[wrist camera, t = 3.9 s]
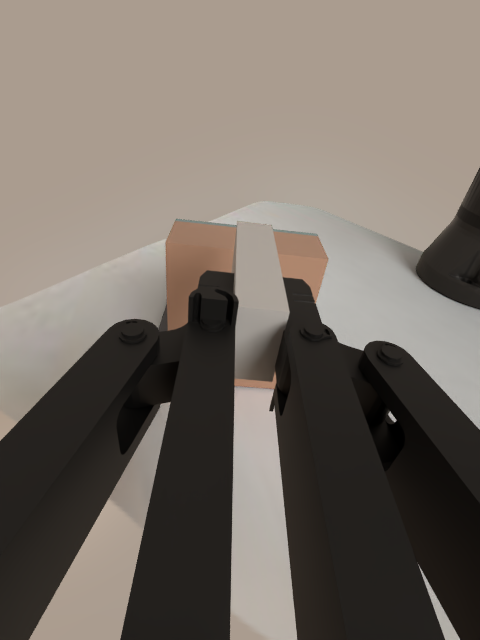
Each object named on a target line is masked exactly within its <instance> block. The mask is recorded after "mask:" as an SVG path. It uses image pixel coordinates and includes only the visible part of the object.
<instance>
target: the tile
mask: <svg viewBox="0 0 480 640" xmlns="http://www.w3.org/2000/svg"><path fill="white" fill-rule="evenodd" d="M236 228H237V225H229V224H219V223H210V222H201V221H192V220H182V219H176V220H175V222H174V225H173V227H172V229H171V231H170V233H169V236H168V238H167V240H166V281H167V322H168V331H169V330H174V329H177V328H180V327H182V326H184V325H185V324H187V323H188V301H189V295H190V294H191V292H192V291H194V290H196V289H197V288H198V284H199V279H200V276H201V275H202V274H203V273H204V272H206V271H207V270H210V271H219V272H229V273H231V271H232V263H233V254H234V245H235V236H236ZM273 233H274V238H275V243H276V248H277V253H278V257H279V262H280V267H281V272H282V277H286V278H295V279H303V280H304V281H305V282H306V283H307V284H308V285H309V286H310V288H311V291H312V294H313V297H314V300H315V303H316V300H317V297H318V293H319V290H320V286H321V283H322V279H323V276H324V273H325V269H326V266H327V262H328V257H327V255H326V253H325V251H324V248H323V246H322V244H321V242H320V240H319V238H318V235H317V234H313V233H303V232H294V231H285V230H275V229H273ZM275 385H276V373H274V377H273V381H272V382H268V381H256V380H244V379H235V381H234V386H244V387H256V388H269V389H275Z"/></svg>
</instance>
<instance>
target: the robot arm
mask: <svg viewBox="0 0 480 640" xmlns="http://www.w3.org/2000/svg"><path fill="white" fill-rule="evenodd" d="M416 271H417V273H418V275H419V276H420V278H421V279H422V280H423V281H424V282H426V283H427V284H428V285H429V286H431V287H432V288H434V289H435V290H437V291H438V292H440V293H442V294H444V295H446V296H448V297H450V298H452V299H454V300H456V301H459V302H461V303H464V304H466V305H469V306H472V307H476V308H479V309H480V168H479V170H478V172H477V174H476V176H475V178H474V180H473V182H472V184H471V186H470V188H469V190H468V192H467V194H466V196H465V198H464V200H463V202H462V204H461V206H460V208H459V210H458V212H457V214H456V216H455V218H454V219H453V221H452V222H451V223H450V224H449V225H448V226H447V227H446V229H445V230H444V231H443V232H442V233H441V234H440V235H439V236H438V237H437V238H436V239H435V240H434V242H433V243H432V244H431V245H430V246H429V247H428V248H427V249H426V250H425V251H424V252H423V254H422V256H421V258H420V260H419V262H418V264H417V266H416ZM274 373H276V385H275V389H274V393H273V397H272V401H271V405H270V410H269V411H273V409H274V405H275V415H276V425H277V435H278V445H279V456H280V466H281V476H282V486H283V497H284V507H285V517H286V527H287V538H288V548H289V558H290V568H291V578H292V589H293V599H294V609H295V619H296V630H297V640H445V638H444V635H443V633H442V630H441V627H440V624H439V621H438V619H437V616H436V613H435V610H434V607H433V605H432V602H431V599H430V596H429V594H428V591H427V588H426V585H425V582H424V580H423V577H422V574H421V571H420V569H419V566H420V568H421V569H422V571H423V573H424V575H425V577H426V578H427V580H428V582H429V584H430V586H431V587H432V589H433V591H434V593H435V595H436V596H437V598H438V600H439V602H440V604H441V605H442V607H443V609H444V611H445V613H446V615H447V616H448V618H449V620H450V622H451V624H452V625H453V627H454V629H455V631H456V633H457V634H458V636H459V638H460V640H480V430H479V429H478V428H477V427H476V426H475V424H474V423H473V422H472V421H471V420H470V419H469V418H468V417H467V416H466V415H465V414H464V413H463V411H462V410H461V409H460V408H459V407H458V406H457V405H456V404H455V403H454V402H453V401H452V400H451V398H450V397H449V396H448V395H447V394H446V393H445V392H444V391H443V390H442V389H441V388H440V387H439V385H438V384H437V383H436V382H435V381H434V380H433V379H432V378H431V377H430V376H429V375H428V374H427V372H426V371H425V370H424V369H423V368H422V367H421V366H420V365H419V364H418V363H417V362H416V360H415V359H414V358H413V357H412V356H411V355H410V354H409V353H408V352H406V351H405V350H404V349H403V348H401V347H399V346H397V345H395V344H392V343H389V342H385V341H373V342H369V343H368V344H367V345H366V346H365V348H364V351H362V350H359V349H355V348H352V347H349V346H346V345H343V344H341V343H339V342H338V341H337V338H336V335H335V334H334V332H333V331H332V330H331V329H330V328H329V327H327V326H326V325H324V324H322V322H321V319H320V316H319V313H318V310H317V307H316V303H315V300H314V297H313V294H312V291H311V288H310V286H309V285H308V284H307V283H306V282H305V281H304V280H303V279H295V278H286V277H282V272H281V267H280V262H279V257H278V253H277V248H276V243H275V238H274V233H273V228H272V225H266V224H258V223H249V222H240V221H237V228H236V236H235V245H234V254H233V263H232V271H231V273H229V272H219V271H210V270H207V271H206V272H204V273H203V274H202V275H201V276H200V279H199V284H198V288H197V289H196V290H194V291H192V292H191V294H190V295H189V301H188V323H187V324H185V325H184V326H182V327H180V328H177V329H174V330H169V331H161V332H159V331H158V328H157V327H156V326H155V325H154V324H153V323H151V322H148V321H146V320H140V319H130V320H124V321H121V322H118V323H116V324H114V325H113V326H112V327H110V328H109V329H108V330H107V331H106V332H105V333H104V334H103V335H102V336H101V337H100V338H99V339H98V340H97V341H96V342H95V343H94V344H93V346H92V347H91V348H90V349H89V350H88V351H87V352H86V353H85V354H84V355H83V356H82V357H81V358H80V359H79V360H78V361H77V362H76V363H75V364H74V365H73V366H72V367H71V368H70V369H69V370H68V371H67V372H66V373H65V375H64V376H63V377H62V378H61V379H60V380H59V381H58V382H57V383H56V384H55V385H54V386H53V387H52V388H51V389H50V390H49V391H48V392H47V393H46V394H45V395H44V396H43V397H42V398H41V399H40V400H39V401H38V402H37V404H36V405H35V406H34V407H33V408H32V409H31V410H30V411H29V412H28V413H27V414H26V415H25V416H24V417H23V418H22V419H21V420H20V421H19V422H18V423H17V424H16V425H15V426H14V428H13V429H11V431H10V432H9V433H8V434H7V435H6V436H5V437H4V438H3V439H2V440H1V441H0V640H29V638H30V636H31V635H32V633H33V631H34V629H35V628H36V626H37V624H38V622H39V620H40V619H41V617H42V615H43V613H44V612H45V610H46V608H47V606H48V605H49V603H50V601H51V599H52V597H53V596H54V594H55V592H56V590H57V588H58V587H59V585H60V583H61V581H62V580H63V578H64V576H65V574H66V573H67V571H68V569H69V567H70V566H71V564H72V562H73V560H74V559H75V556H76V555H77V553H78V551H79V550H80V548H81V546H82V544H83V543H84V541H85V539H86V537H87V536H88V534H89V532H90V530H91V528H92V527H93V525H94V523H95V521H96V520H97V518H98V516H99V514H100V512H101V511H102V509H103V507H104V505H105V504H106V502H107V500H108V498H109V497H110V495H111V493H112V491H113V490H114V488H115V486H116V484H117V482H118V481H119V479H120V477H121V475H122V474H123V472H124V470H125V468H126V466H127V465H128V463H129V461H130V459H131V458H132V456H133V454H134V452H135V451H136V449H137V447H138V445H139V443H140V442H141V440H142V438H143V436H144V435H145V433H146V431H147V429H148V428H149V426H150V424H151V422H152V420H153V419H154V417H155V415H156V413H157V412H158V410H159V408H160V405H161V404H162V403H167V402H171V404H170V408H169V413H168V418H167V422H166V427H165V432H164V437H163V441H162V446H161V451H160V455H159V460H158V465H157V470H156V474H155V479H154V484H153V488H152V493H151V498H150V503H149V507H148V512H147V517H146V521H145V526H144V531H143V536H142V541H141V545H140V550H139V555H138V559H137V564H136V569H135V573H134V578H133V583H132V588H131V592H130V597H129V602H128V606H127V611H126V616H125V621H124V625H123V630H122V635H121V639H120V640H230V600H231V545H232V491H233V436H234V381H235V379H244V380H256V381H268V382H272V381H273V377H274ZM390 411H391V413H392V414H393V416H394V417H395V418H396V420H397V421H396V422H393V421H392V420H391V419H390V417H389V416H388V413H389V412H390ZM417 562H418V563H417ZM418 564H419V566H418Z"/></svg>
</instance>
